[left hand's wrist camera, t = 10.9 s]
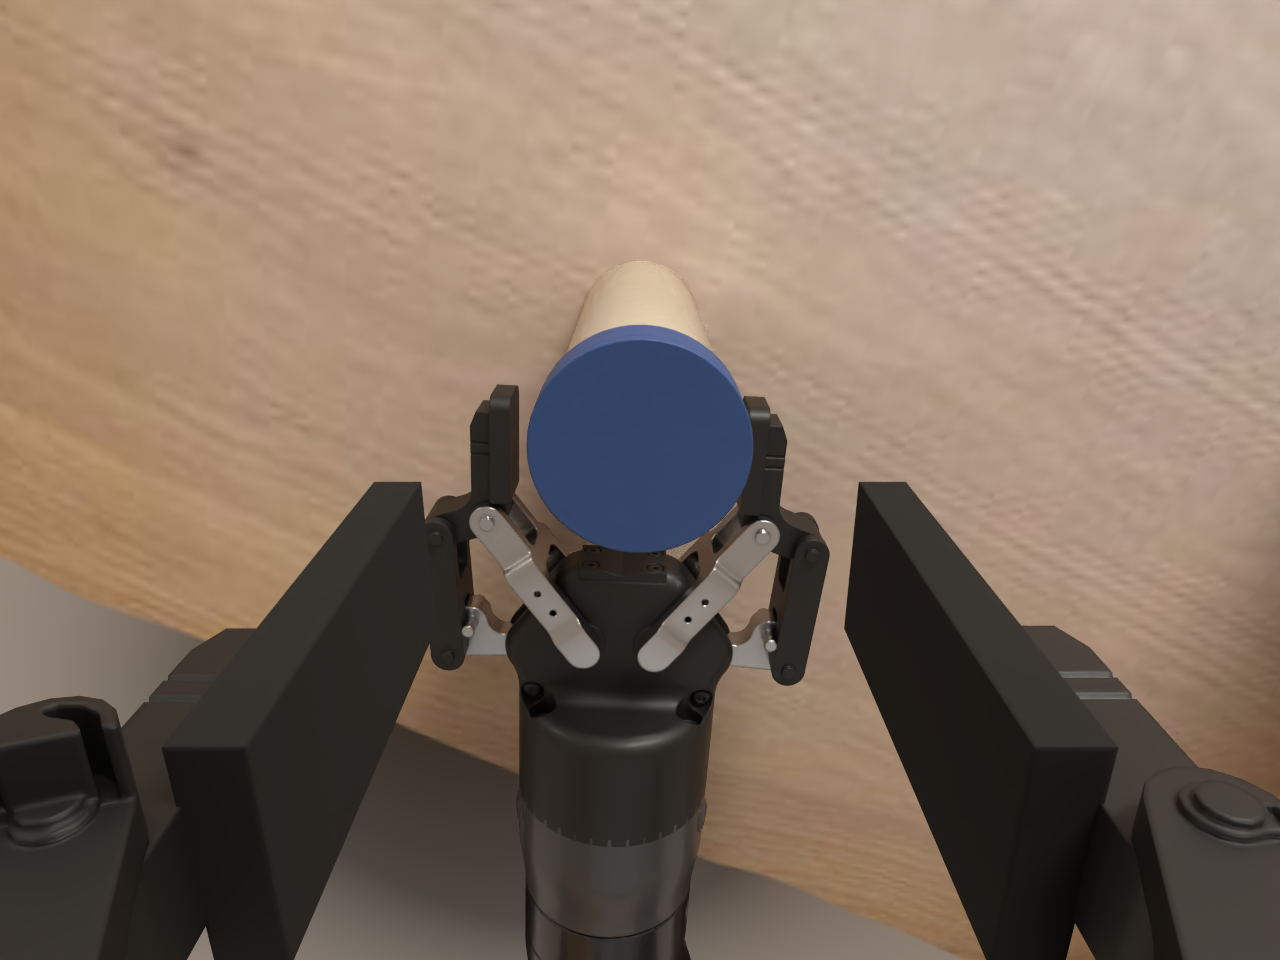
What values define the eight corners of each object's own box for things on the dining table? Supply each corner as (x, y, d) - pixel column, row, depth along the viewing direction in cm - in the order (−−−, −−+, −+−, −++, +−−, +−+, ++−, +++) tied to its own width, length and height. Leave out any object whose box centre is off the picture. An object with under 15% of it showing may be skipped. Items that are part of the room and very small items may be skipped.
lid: (669, 558, 22) (671, 590, 20) (496, 457, 21) (484, 482, 19) (786, 398, 20) (799, 419, 19) (607, 281, 19) (604, 292, 18)
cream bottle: (656, 396, 35) (667, 568, 21) (561, 336, 34) (503, 472, 20) (719, 302, 34) (780, 416, 19) (622, 237, 33) (609, 305, 18)
